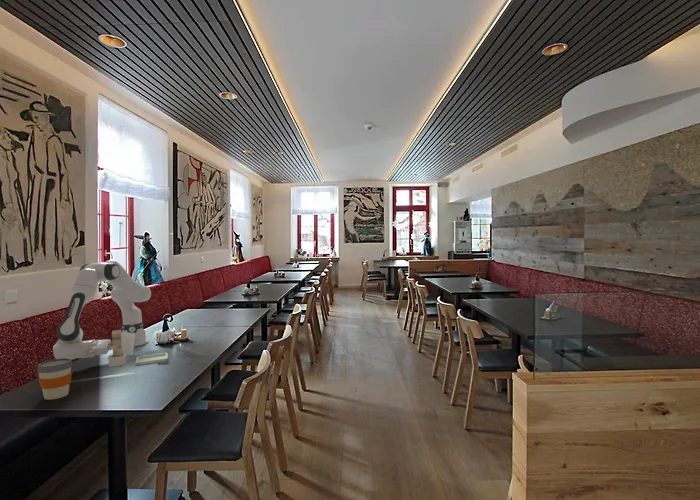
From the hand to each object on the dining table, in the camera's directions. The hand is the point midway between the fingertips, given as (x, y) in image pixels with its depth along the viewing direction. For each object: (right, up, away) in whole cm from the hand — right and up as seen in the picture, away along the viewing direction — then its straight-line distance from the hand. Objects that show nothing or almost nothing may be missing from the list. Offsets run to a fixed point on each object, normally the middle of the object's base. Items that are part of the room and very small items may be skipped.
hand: (119, 345), depth 229 cm
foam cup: (-5, -11, +18) cm, 21 cm away
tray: (+16, -10, +5) cm, 20 cm away
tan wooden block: (-1, -10, 0) cm, 10 cm away
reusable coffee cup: (-4, -13, -43) cm, 45 cm away
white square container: (-1, -11, 0) cm, 11 cm away
